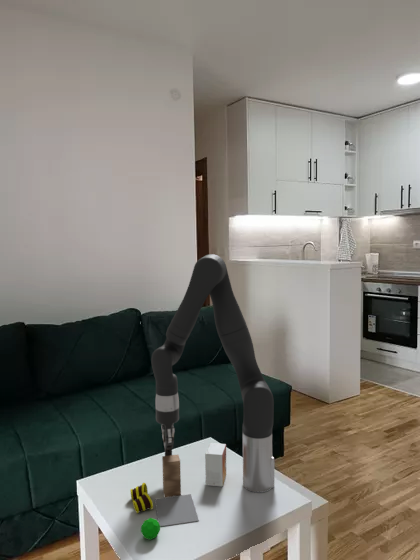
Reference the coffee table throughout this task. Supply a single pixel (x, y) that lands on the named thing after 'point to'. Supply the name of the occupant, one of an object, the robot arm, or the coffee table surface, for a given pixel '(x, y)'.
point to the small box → (215, 464)
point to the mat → (175, 510)
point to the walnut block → (171, 475)
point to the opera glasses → (141, 498)
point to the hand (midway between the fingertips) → (168, 457)
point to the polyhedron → (150, 528)
